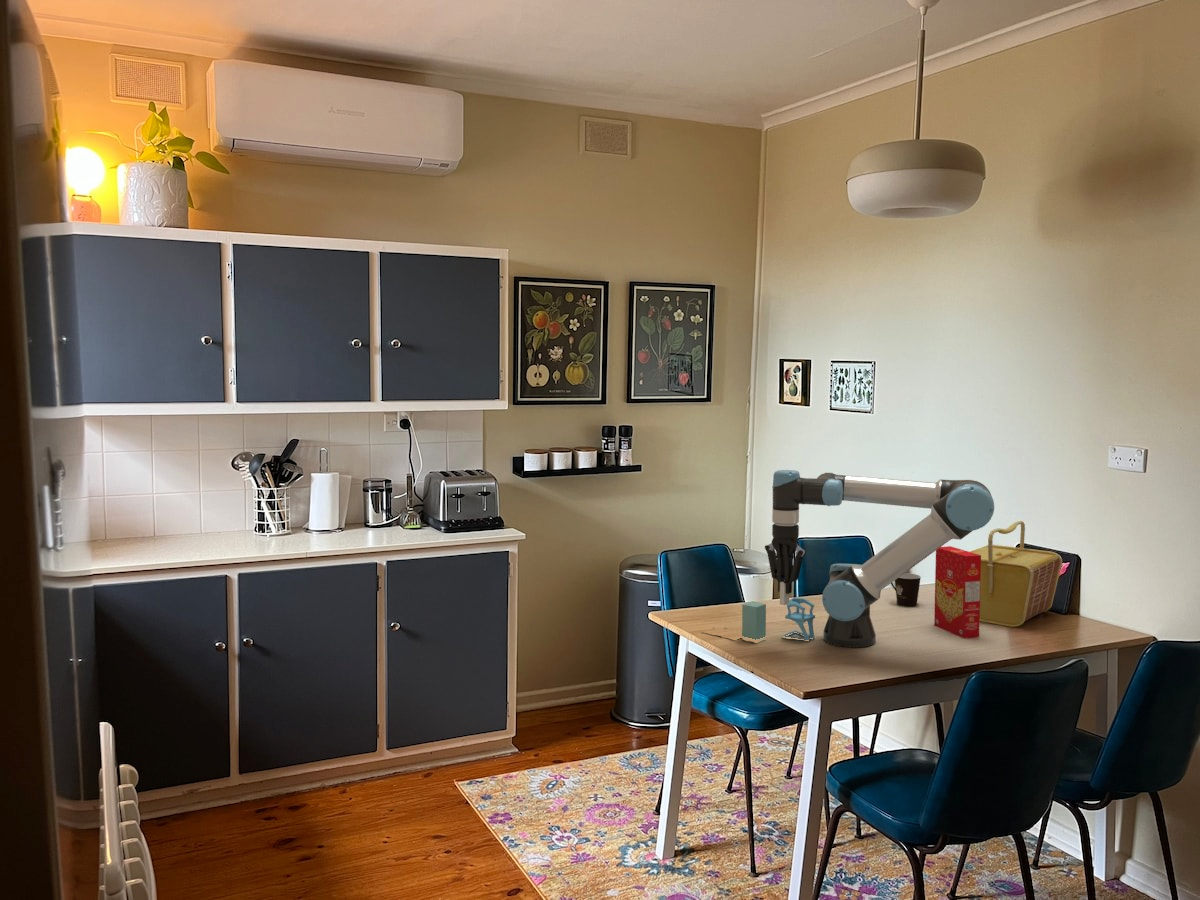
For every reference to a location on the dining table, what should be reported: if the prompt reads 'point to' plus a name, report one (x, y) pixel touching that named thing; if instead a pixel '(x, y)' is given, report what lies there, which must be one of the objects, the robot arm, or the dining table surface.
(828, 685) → the dining table surface
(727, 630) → the dining table surface
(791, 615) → the chair
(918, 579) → the coffee mug
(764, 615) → the teal block
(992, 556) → the picnic basket
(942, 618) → the food packaging
